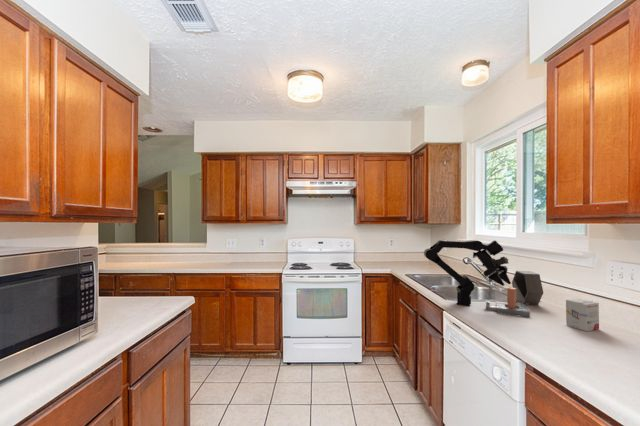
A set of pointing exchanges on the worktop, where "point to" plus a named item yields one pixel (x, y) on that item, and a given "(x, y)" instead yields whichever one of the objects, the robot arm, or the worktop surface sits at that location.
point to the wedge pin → (511, 297)
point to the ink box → (582, 314)
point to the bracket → (490, 306)
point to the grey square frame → (512, 309)
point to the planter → (527, 287)
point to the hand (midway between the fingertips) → (507, 284)
